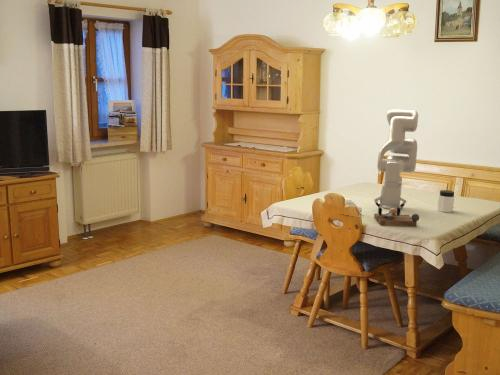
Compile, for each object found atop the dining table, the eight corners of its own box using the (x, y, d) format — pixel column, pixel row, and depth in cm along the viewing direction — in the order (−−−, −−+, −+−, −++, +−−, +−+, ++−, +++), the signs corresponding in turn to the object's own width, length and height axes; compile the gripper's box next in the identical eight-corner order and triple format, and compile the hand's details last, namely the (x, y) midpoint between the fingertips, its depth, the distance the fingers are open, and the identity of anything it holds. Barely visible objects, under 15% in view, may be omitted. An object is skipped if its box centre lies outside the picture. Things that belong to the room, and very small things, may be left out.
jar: (449, 213, 332) (451, 193, 330) (436, 211, 337) (438, 191, 334) (454, 210, 339) (456, 191, 337) (440, 208, 344) (442, 189, 342)
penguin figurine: (343, 196, 325) (364, 200, 323) (340, 210, 327) (361, 214, 324) (341, 198, 319) (363, 202, 317) (339, 213, 321) (360, 217, 318)
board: (374, 218, 314) (374, 213, 313) (408, 219, 314) (408, 214, 314) (380, 225, 298) (381, 220, 298) (416, 226, 298) (416, 222, 298)
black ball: (410, 220, 301) (410, 212, 301) (417, 220, 301) (418, 213, 301) (412, 222, 297) (413, 214, 297) (419, 222, 297) (420, 214, 297)
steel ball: (385, 211, 307) (391, 212, 307) (383, 218, 306) (390, 220, 307) (387, 210, 303) (394, 212, 304) (386, 217, 302) (393, 219, 303)
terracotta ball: (388, 213, 314) (389, 206, 313) (395, 214, 314) (396, 207, 313) (390, 215, 310) (390, 208, 309) (397, 215, 310) (398, 208, 309)
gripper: (405, 183, 306) (402, 214, 309) (373, 182, 306) (371, 213, 309) (409, 185, 299) (406, 217, 302) (377, 184, 298) (374, 216, 302)
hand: (389, 215), depth 305 cm, fingers open, 9 cm apart
